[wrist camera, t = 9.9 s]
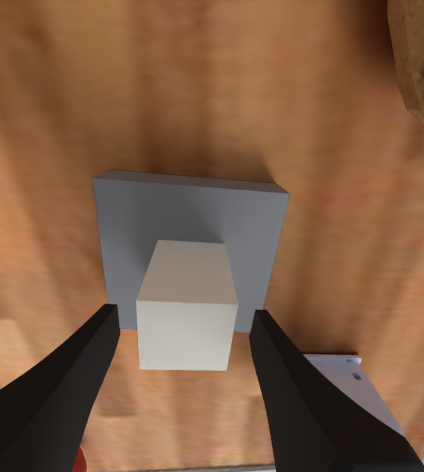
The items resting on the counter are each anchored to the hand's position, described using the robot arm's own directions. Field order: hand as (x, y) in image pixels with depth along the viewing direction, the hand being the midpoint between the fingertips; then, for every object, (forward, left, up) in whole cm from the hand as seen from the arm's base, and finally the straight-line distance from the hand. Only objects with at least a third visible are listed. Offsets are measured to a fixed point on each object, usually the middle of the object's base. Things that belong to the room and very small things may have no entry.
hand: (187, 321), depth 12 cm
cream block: (0, 0, -5) cm, 5 cm away
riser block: (0, 0, -8) cm, 8 cm away
